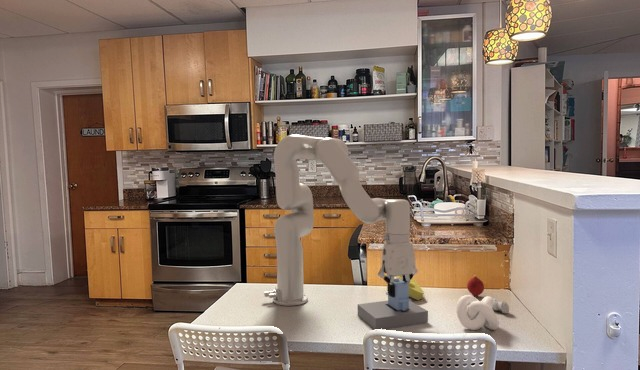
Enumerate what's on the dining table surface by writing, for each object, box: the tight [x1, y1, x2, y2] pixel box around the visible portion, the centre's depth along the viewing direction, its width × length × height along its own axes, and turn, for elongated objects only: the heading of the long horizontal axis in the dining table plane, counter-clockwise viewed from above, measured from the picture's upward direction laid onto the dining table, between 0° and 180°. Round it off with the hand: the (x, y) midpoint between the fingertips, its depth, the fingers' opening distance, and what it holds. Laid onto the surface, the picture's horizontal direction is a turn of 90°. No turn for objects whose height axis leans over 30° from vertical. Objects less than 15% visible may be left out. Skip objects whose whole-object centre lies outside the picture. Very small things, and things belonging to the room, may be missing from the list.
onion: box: [466, 274, 485, 297], centre depth 149 cm, size 6×6×8 cm
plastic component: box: [386, 275, 425, 301], centre depth 154 cm, size 20×7×10 cm
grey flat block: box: [357, 300, 429, 330], centre depth 127 cm, size 18×13×4 cm
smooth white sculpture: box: [491, 297, 510, 315], centre depth 134 cm, size 4×8×5 cm
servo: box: [385, 277, 412, 311], centre depth 128 cm, size 4×9×9 cm, turn 19°
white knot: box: [455, 294, 500, 331], centre depth 121 cm, size 11×12×9 cm
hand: (398, 294), depth 128 cm, fingers closed on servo, 4 cm apart
